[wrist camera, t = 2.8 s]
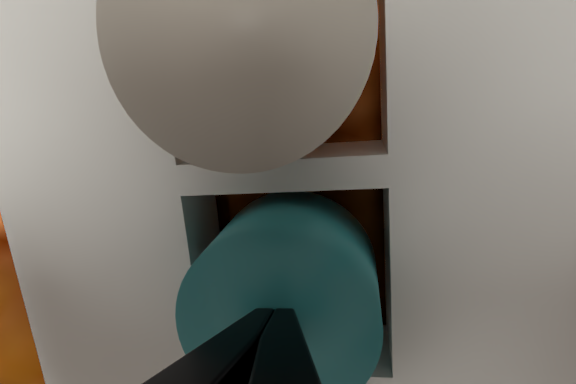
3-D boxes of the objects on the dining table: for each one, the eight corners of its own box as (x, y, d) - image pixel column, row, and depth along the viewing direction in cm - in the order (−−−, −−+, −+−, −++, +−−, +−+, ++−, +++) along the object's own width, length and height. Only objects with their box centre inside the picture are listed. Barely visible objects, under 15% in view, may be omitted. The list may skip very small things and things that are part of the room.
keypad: (655, -538, 8) (785, -804, 6) (566, 368, 13) (614, 433, 10) (-54, -326, 11) (-172, -443, 8) (97, 353, 16) (50, 402, 13)
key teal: (374, 187, 11) (380, 227, 8) (378, 338, 12) (385, 422, 9) (210, 193, 12) (160, 232, 9) (229, 334, 13) (190, 411, 10)
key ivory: (367, -80, 9) (374, -167, 6) (373, 140, 10) (382, 167, 7) (162, -49, 9) (70, -111, 6) (190, 150, 11) (122, 179, 8)
